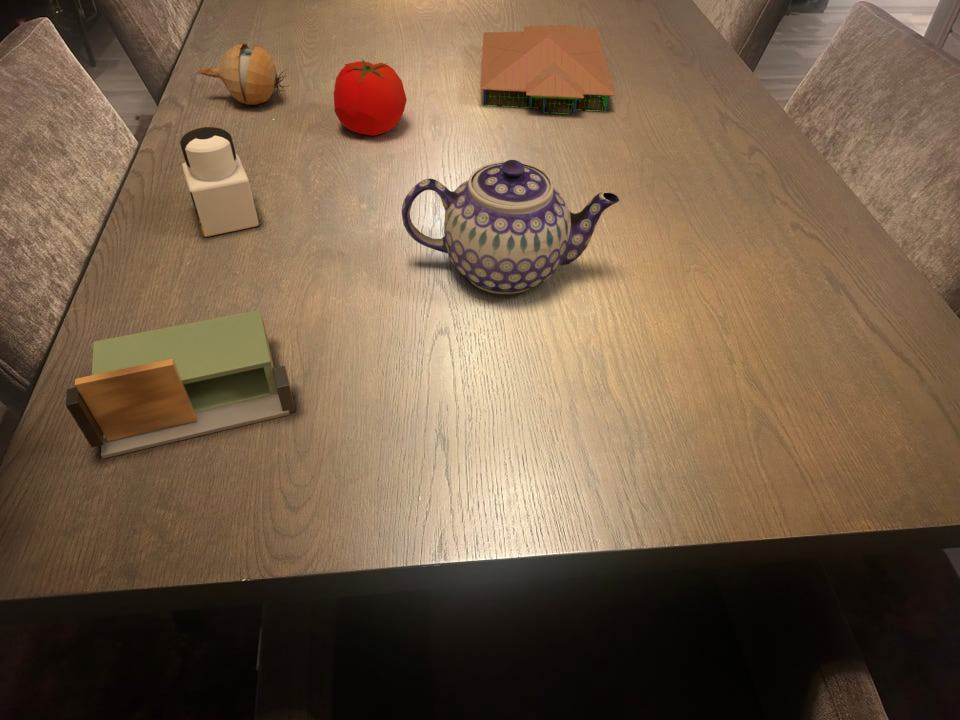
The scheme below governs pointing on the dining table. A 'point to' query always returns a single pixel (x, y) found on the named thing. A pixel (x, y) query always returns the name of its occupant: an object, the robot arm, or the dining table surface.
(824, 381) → the dining table surface
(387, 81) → the tomato
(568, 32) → the house
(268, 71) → the split yellow onion
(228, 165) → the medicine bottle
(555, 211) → the teapot
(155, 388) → the sliding door
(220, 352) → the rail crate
